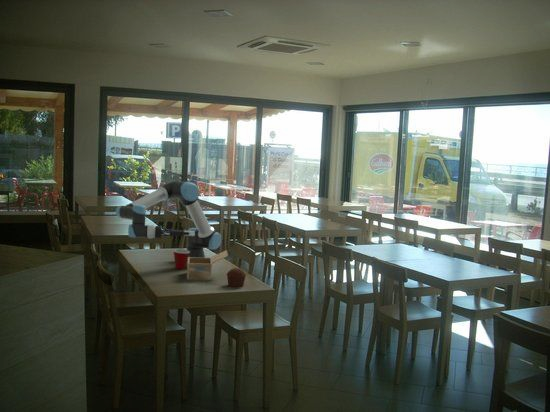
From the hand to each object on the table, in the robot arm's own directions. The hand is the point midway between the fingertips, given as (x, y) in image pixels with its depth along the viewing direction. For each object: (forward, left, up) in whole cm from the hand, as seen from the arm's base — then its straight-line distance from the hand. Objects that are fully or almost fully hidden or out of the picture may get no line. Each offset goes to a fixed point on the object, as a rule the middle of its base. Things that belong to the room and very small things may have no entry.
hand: (194, 233), depth 348 cm
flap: (-9, +7, -17) cm, 20 cm away
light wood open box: (-4, +2, -27) cm, 27 cm away
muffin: (0, +32, -27) cm, 42 cm away
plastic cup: (-14, -21, -27) cm, 37 cm away
